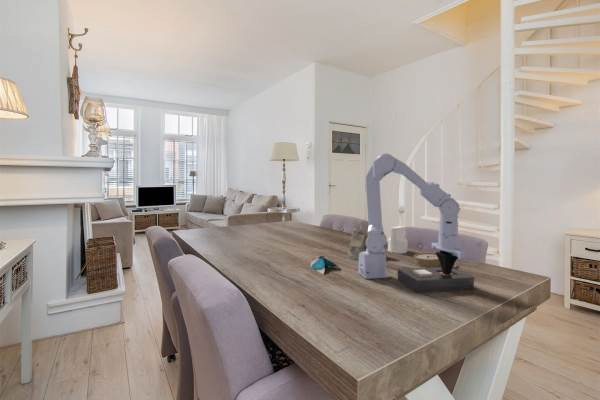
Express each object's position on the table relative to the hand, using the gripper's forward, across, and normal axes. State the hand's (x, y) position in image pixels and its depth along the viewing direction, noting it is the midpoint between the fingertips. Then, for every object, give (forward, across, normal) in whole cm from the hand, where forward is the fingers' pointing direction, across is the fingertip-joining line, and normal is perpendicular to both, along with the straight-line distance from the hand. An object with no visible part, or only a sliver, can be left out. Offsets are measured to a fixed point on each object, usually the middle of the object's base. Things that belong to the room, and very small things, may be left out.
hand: (446, 274), depth 102 cm
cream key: (+2, 0, +9) cm, 9 cm away
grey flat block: (+3, 0, +4) cm, 6 cm away
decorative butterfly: (+4, +24, +36) cm, 44 cm away
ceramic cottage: (+4, +39, +12) cm, 41 cm away
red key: (+3, 0, 0) cm, 3 cm away
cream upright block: (+4, +46, -8) cm, 47 cm away
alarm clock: (+4, +23, -11) cm, 26 cm away
